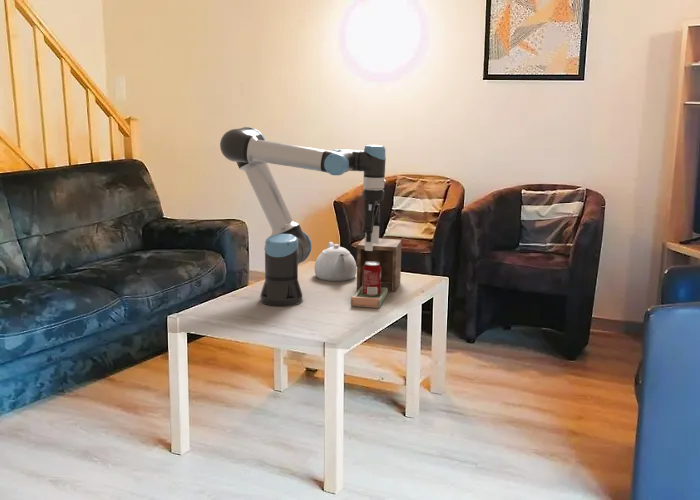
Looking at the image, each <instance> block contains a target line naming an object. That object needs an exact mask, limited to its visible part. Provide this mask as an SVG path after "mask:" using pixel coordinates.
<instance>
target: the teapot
mask: <svg viewBox="0 0 700 500" xmlns="http://www.w3.org/2000/svg"><path fill="white" fill-rule="evenodd" d="M314 274H315V277H316V278H318V279H320V280H323V281H328V282H345V281H350V280H352V279H354V278H355V277H356V276H357V261H356V260H355V258H354V256H353V255H352V254H351V252H350V251H349V250H348V249H347V248H345V247H342V246H340V244H338V243H335V244H334V242H333V241H329V242H328V244H327V248H325V249H323V250H322V251H321V252H320V253H319V255H318V256H317V258H316V260H315V263H314Z"/></svg>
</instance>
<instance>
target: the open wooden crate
mask: <svg viewBox="0 0 700 500" xmlns="http://www.w3.org/2000/svg"><path fill="white" fill-rule="evenodd" d="M402 244H403V243H402V239H395V238H394V239H392V238H379V244H375V243H373V251H365V237H364V238H363V239H361V241H360V242H359V243H358V244H357V249H356V251H357V252H356V267H357V270H356V290H357V291H358V290H359V289H360V287H361V286H362V284H363V267H364V265H365V262H379V263H380V267H381V284H382V283H385V284H391V293H396V291H397V290H398V288H399V286H400V285H401V276H402V275H401V274H402Z"/></svg>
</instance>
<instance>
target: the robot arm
mask: <svg viewBox="0 0 700 500" xmlns="http://www.w3.org/2000/svg"><path fill="white" fill-rule="evenodd" d="M219 148H220V152H221V153H222V155H223V156H224V158H225V159H226V160H228V161H231V162H234V163H235V162H236V164H237V165H236V166H238V170H240V171H242V172H244V173H246V176H247V178H248V179H247V180H248V181H249V182H250V185H251V187H252V190H253V192H254V194H255V196H256V198H257V200H258V202H259V205H260V208H261V210H262V211H263V213H264V215H265V218H266V220H267V222H268V224H269V226H270V229H271V234H270V236H269V237H267V238H266V239H265V242H264V243H265V244H264V248H263V249H264V273H265V274H264V282H263V284H262V285H263V286H262V288H261V292H260V294H259V295H260V297H259V298H260V300H259V301H260V302H261V304H264V305H268V306H275V307H288V306H295V305H299V304H301V303H303V292H302V288H301V286H300V282H299V278H298V275H299V274H298V273H299V272H298V271H299V264H301V263H304V262H305V261H306V260H307V259H308V257H309V256H310V254H311V253H312V247H313V245H312V240H311V238H310V236H309V235H308V234H307V233H306V232H304V231H303V229H302V227H301V226H300V223H298V222H296V221H294V219H293V217H292V215H291V213H290V210H289V209H288V206H287V204H286V201H285V200H284V198H283V195H282V193H281V191H280V189H279V187H278V185H277V183H276V180H275V178H274V176H273V173H272V172H271V170H270V167H269V165H268V164H273V165H277V166H278V165H279V166H286V167H291V168H298V169H303V170H309V171H310V170H311V171H315V172H316V171H317V172H323V173H327V174H329V175H331V176H342V175H343V174H345V173H348V172H363V180H362V181H363V186H362V187H363V191H362V198H363V200H365V201H368V204H366V213H365V222H364V229H362V232H363V233H364V238H365V251H373V243H375V244H379V239H380V227H381V226H382V222H381V209H380V207H381V206H380V205H381V204H380V203H381V201H383V200H384V199H385V190H384V188H385V184H386V183H387V180H386V179H385V176H386V160H387V158H386V147H385V146H384V145H381V144H380V145H379V144H366V145H365V146H364V149H363V150H359V149H357V150H356V149H343V148H339V149H338V148H336V149H335V148H334V149H333V150H326V149H320V148H314V147H308V146H307V147H306V146H300V145H296V144H295V145H294V144H288V143H281V142H276V141H269V140H266V139H265V136H264V135H263V134H262V133H261V132H260V131H259V130H258V129H256V128H254V127H253V128H252V127H249V126H248V127H247V126H244V127H241V128H233V129H230V130H228V131H226V132H225V133H224V134H223V135H222V137H221V139H220V143H219Z"/></svg>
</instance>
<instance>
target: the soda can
mask: <svg viewBox="0 0 700 500" xmlns="http://www.w3.org/2000/svg"><path fill="white" fill-rule="evenodd" d="M381 287H382V283H381V267H380V263H379V262H365V265H364V267H363V284H362V293H363V294H364V295H365V296H368V297H376V296H378V295H380V294H381Z"/></svg>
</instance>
